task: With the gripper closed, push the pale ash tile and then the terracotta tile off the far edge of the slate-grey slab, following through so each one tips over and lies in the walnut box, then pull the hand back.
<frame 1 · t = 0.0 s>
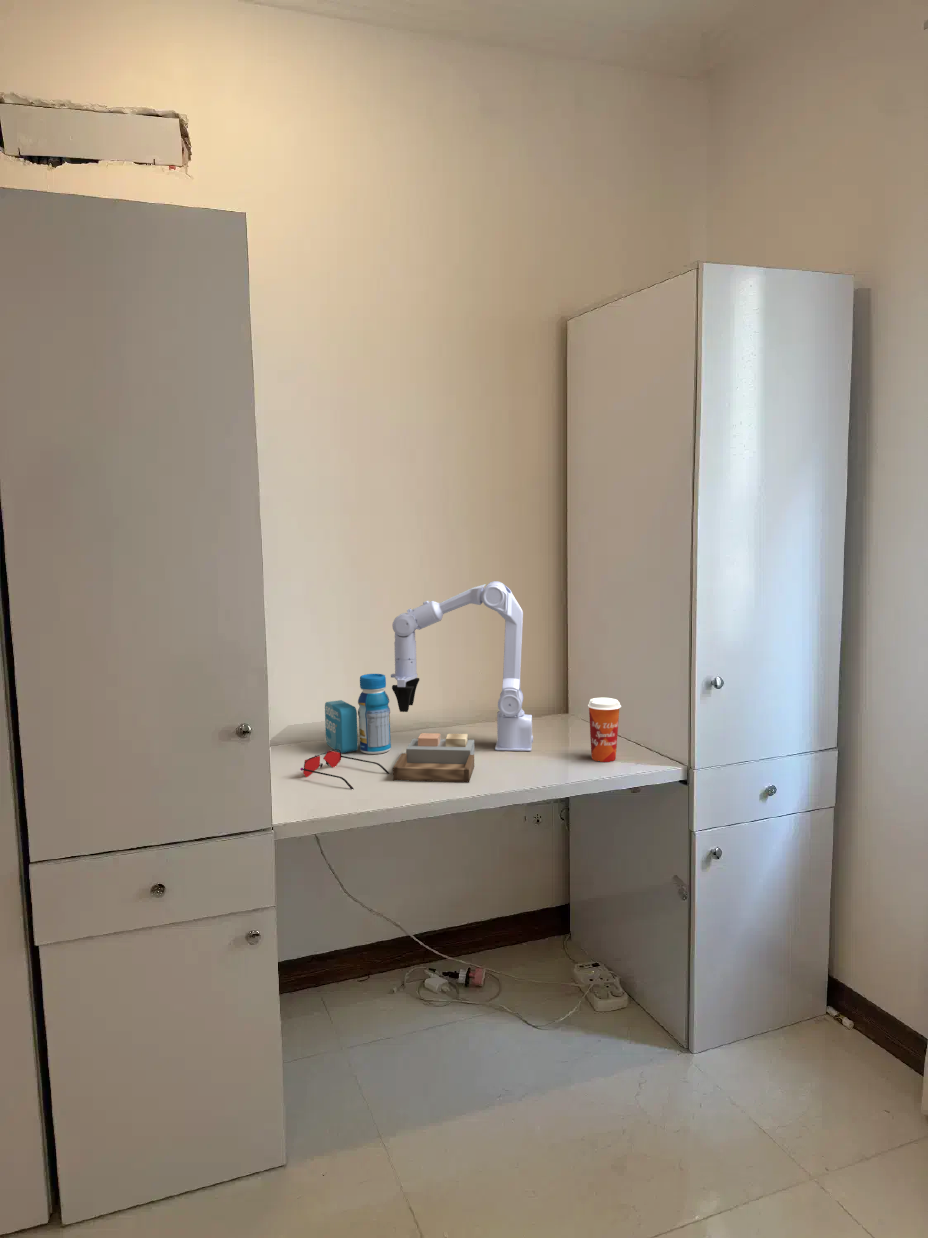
hand: (406, 708, 235), 10 cm above the table, tool pointing down, fingers open, 7 cm apart
coffee cup: (603, 759, 222), on the table
walnut box: (434, 773, 211), on the table
glasses: (345, 778, 210), on the table
ash tile: (456, 744, 222), point 4 cm above the table, touching slate slab
slate slab: (441, 759, 222), on the table
beverage bottle: (375, 751, 231), on the table
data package: (341, 749, 234), on the table
terracotta tile: (429, 743, 223), point 4 cm above the table, touching slate slab
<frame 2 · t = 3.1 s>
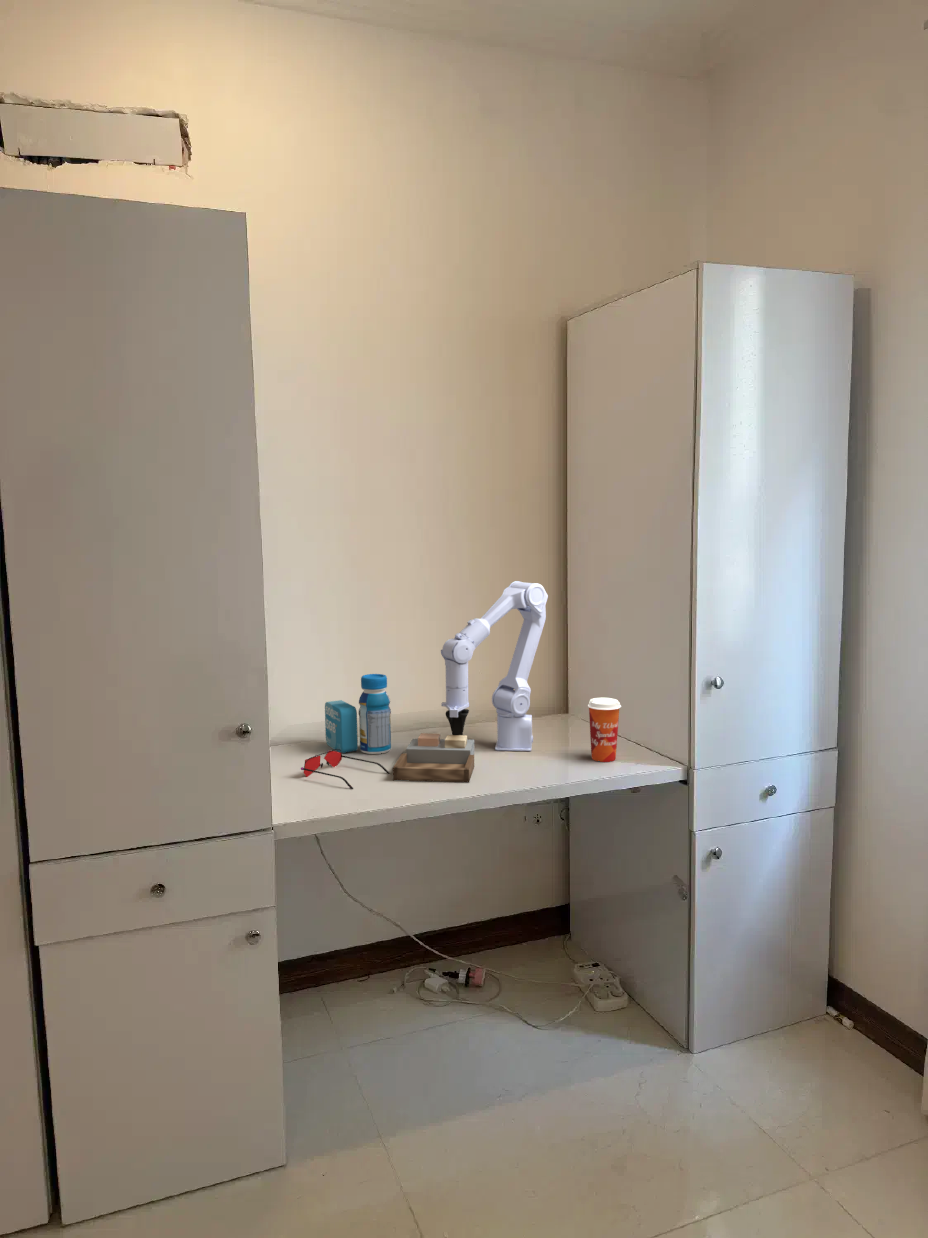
hand: (457, 738, 224), 5 cm above the table, tool pointing down, fingers closed
ash tile: (456, 745, 221), point 4 cm above the table, touching gripper, slate slab
everything else where it was.
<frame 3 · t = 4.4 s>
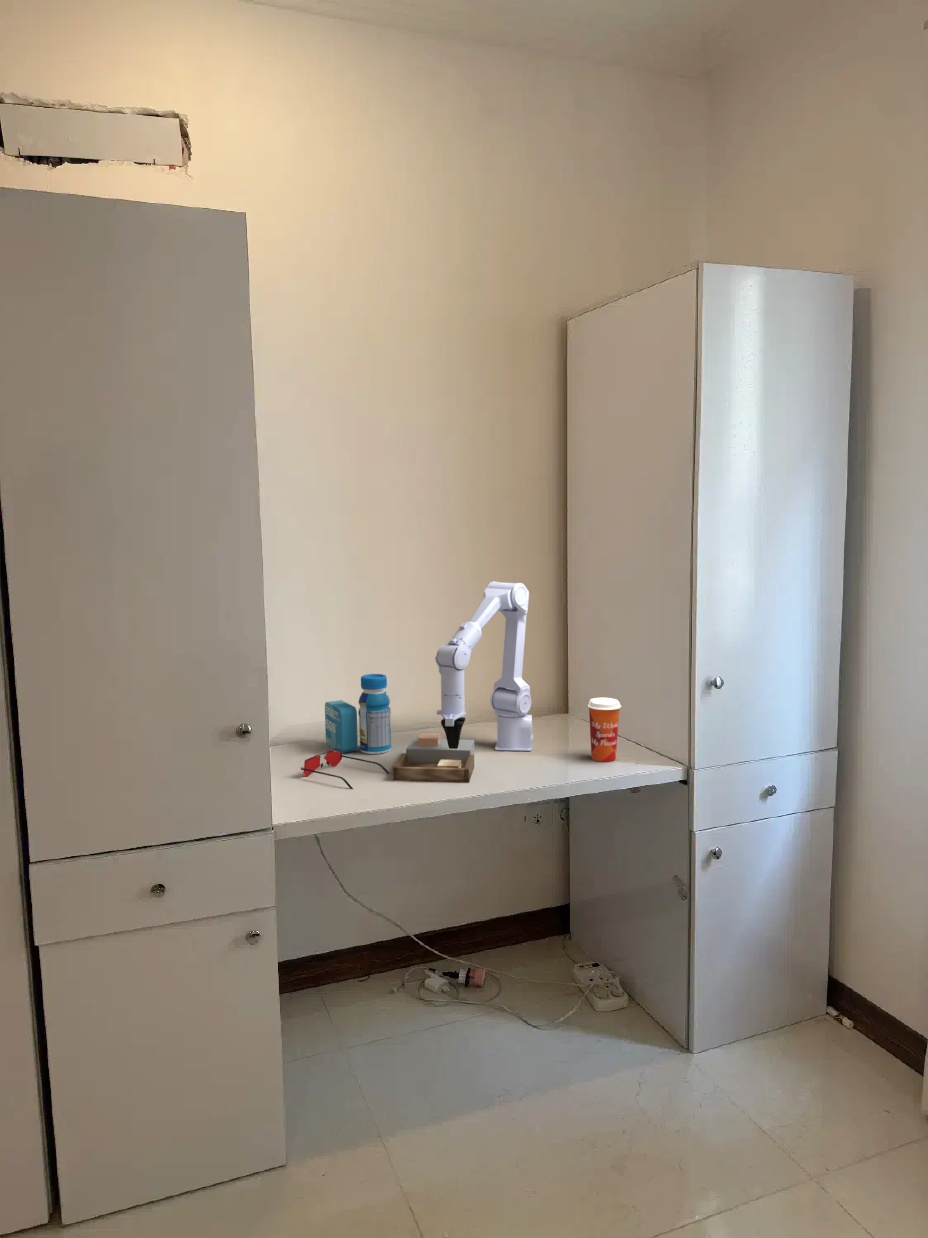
hand: (453, 748, 215), 5 cm above the table, tool pointing down, fingers closed
ash tile: (449, 762, 211), point 3 cm above the table, tilted 180°, touching walnut box
everything else where it was.
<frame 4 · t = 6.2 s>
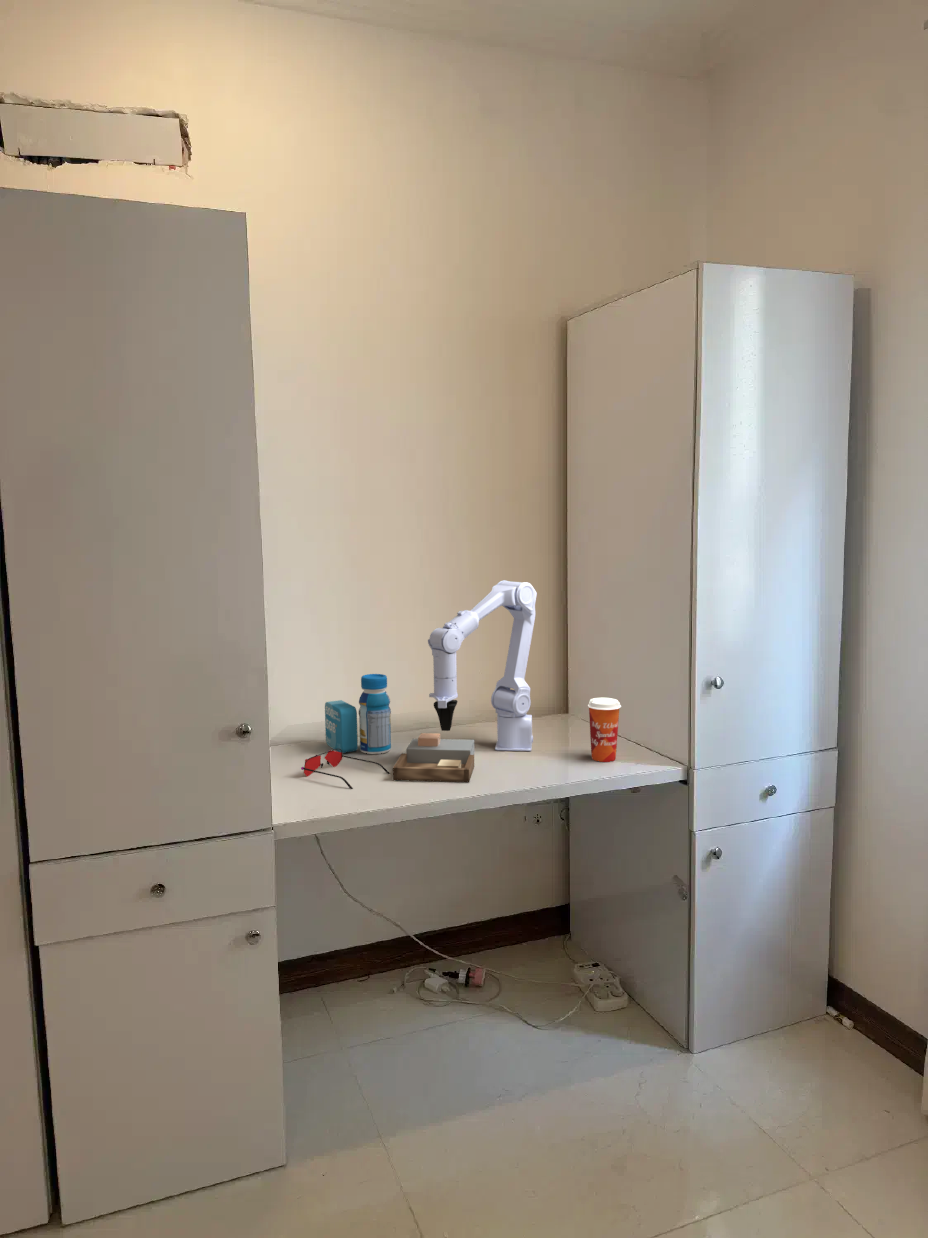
hand: (446, 730, 219), 8 cm above the table, tool pointing down, fingers closed
nothing on the table moved.
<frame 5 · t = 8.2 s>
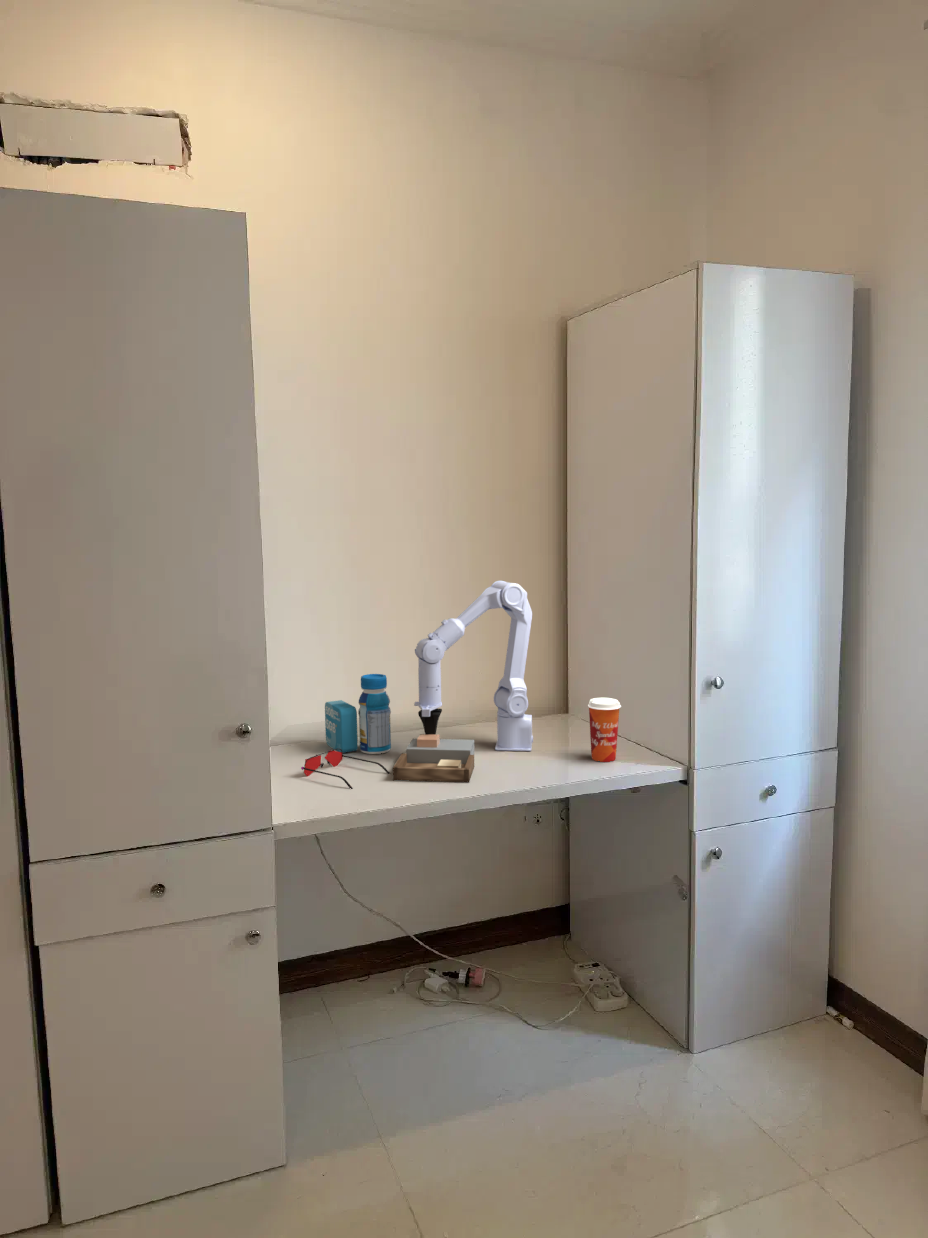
hand: (430, 737, 225), 5 cm above the table, tool pointing down, fingers closed
terracotta tile: (428, 744, 222), point 4 cm above the table, touching gripper, slate slab
everything else where it was.
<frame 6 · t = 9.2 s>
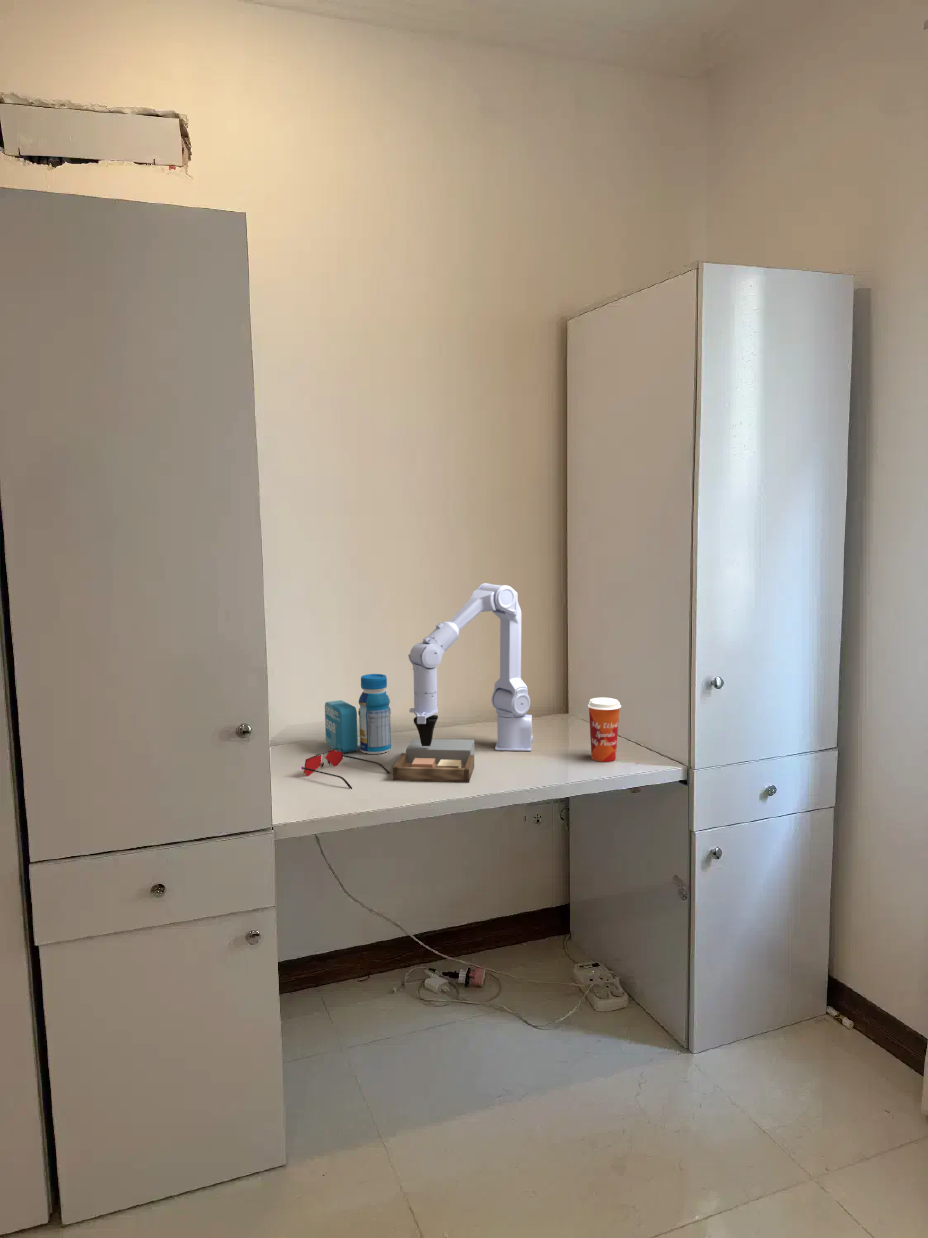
hand: (426, 745, 218), 5 cm above the table, tool pointing down, fingers closed
terracotta tile: (423, 761, 212), point 3 cm above the table, tilted 180°, touching walnut box
everything else where it was.
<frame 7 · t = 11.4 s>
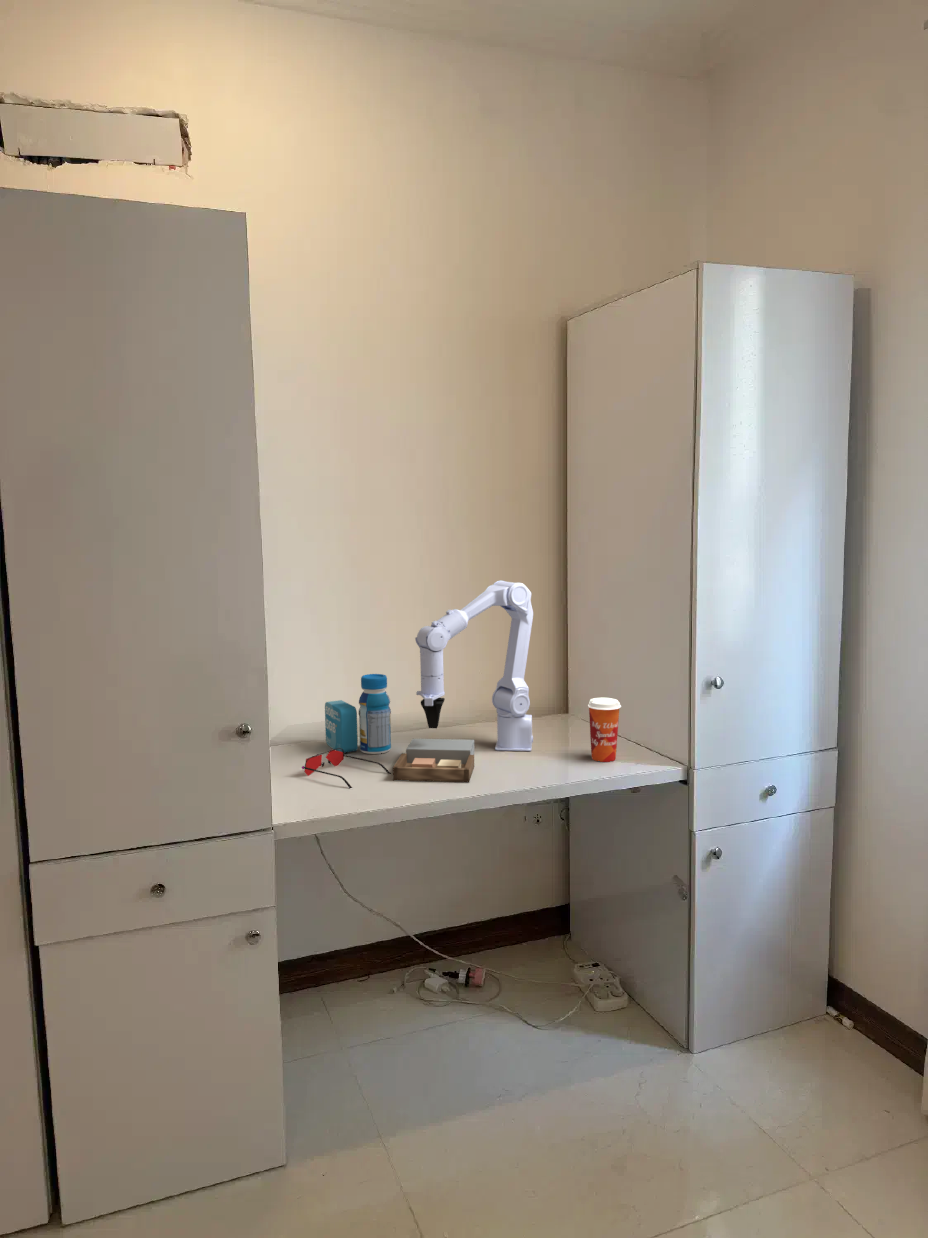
hand: (433, 727, 220), 9 cm above the table, tool pointing down, fingers closed
nothing on the table moved.
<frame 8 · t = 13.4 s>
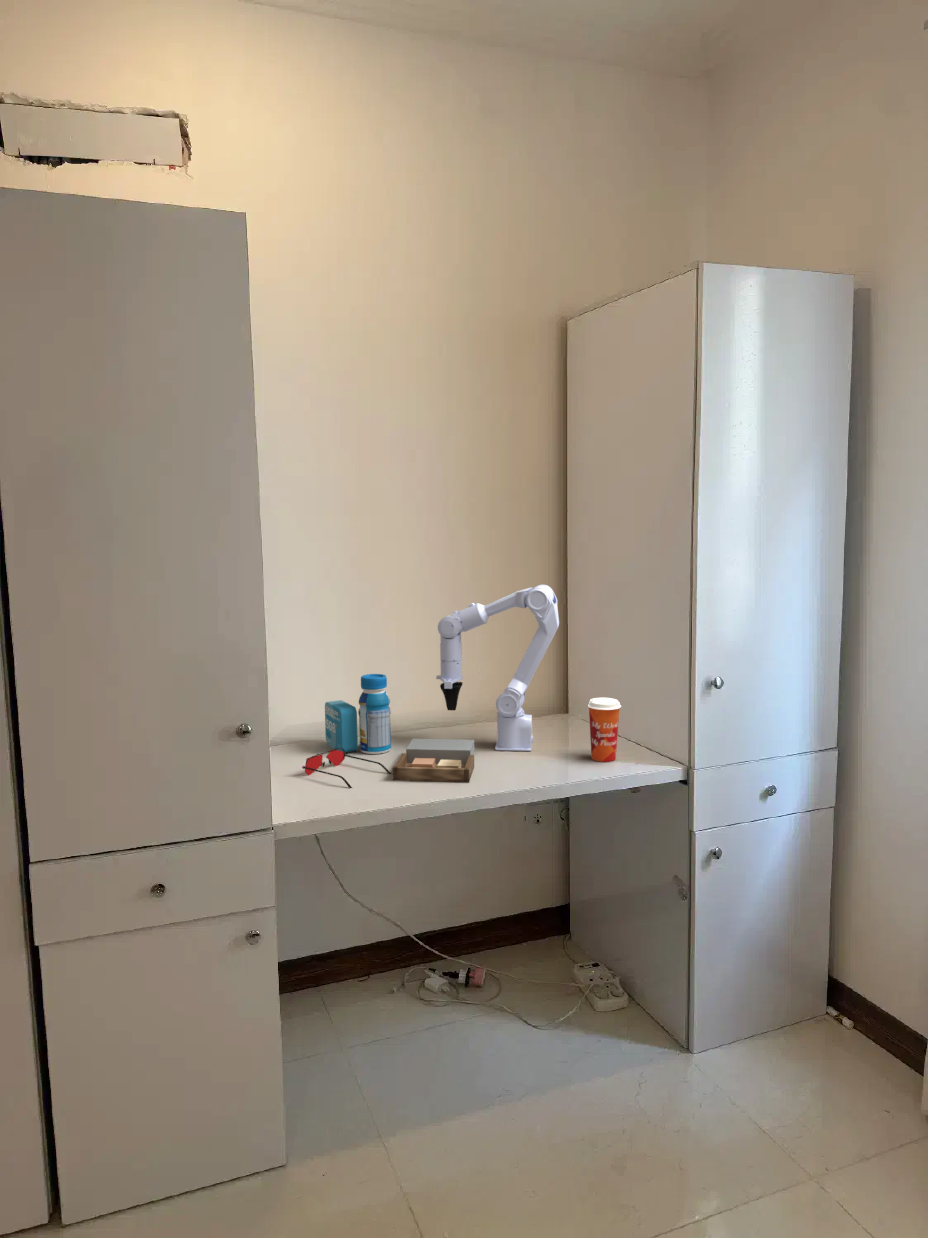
hand: (451, 709, 236), 9 cm above the table, tool pointing down, fingers closed
nothing on the table moved.
at the end: ash tile inside the target area (3.7 cm from its centre), point 2.6 cm above the table; terracotta tile inside the target area (3.2 cm from its centre), point 2.6 cm above the table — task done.
